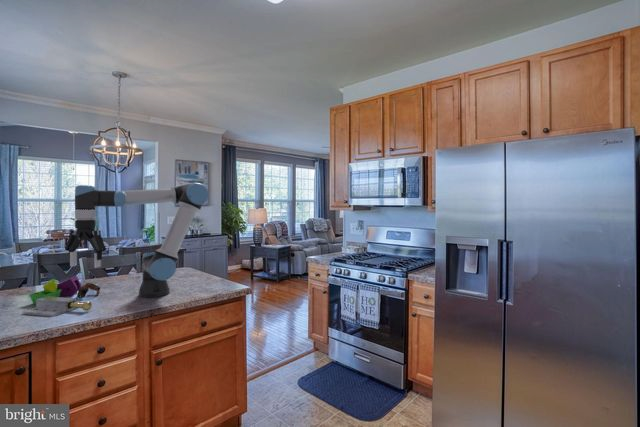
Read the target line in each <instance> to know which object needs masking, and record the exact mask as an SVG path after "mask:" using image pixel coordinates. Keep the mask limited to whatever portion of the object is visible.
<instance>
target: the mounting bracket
mask: <svg viewBox="0 0 640 427" xmlns="http://www.w3.org/2000/svg"><path fill="white" fill-rule="evenodd" d="M81 286H82V282H81V281H80V279H79V277H78V276H77V275H74V276H71V277H70V278H68V279H65V280H63V281H60V282H58V283H57V289H61V292H60V295H59V296H61V297H63V298H71V297H73V295H75V294H76V293H78V291H79V289H80V288H81Z"/></svg>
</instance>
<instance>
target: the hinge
mask: <svg viewBox="0 0 640 427" xmlns="http://www.w3.org/2000/svg"><path fill="white" fill-rule="evenodd" d="M69 302H72V303H85V302H86V301H77V297H76V298H74V297H62V296H61V297H60V296H59V297H44V298H40V299H37V300H36V304H35V305H36V307H33V308H29V309H26V310H24V311H23V310H22V312H21V314H22V315H29V316H39V317H40V316H41V317H51V318H52V317H55V316H58V315H61V314H65V313H67V312H71V311H73V310H76V309H78V308H71V307H68V303H69Z"/></svg>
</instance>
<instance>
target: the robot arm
mask: <svg viewBox="0 0 640 427" xmlns="http://www.w3.org/2000/svg"><path fill="white" fill-rule="evenodd" d="M209 194H210V193H209V190H208V188H207V187H206V186H205V184H202V183H199V182H192V183H187V184H182V185H178V186H170V188H157V189H156V188H153V189H152V188H151V189H138V190H137V189H135V190H132V189H131V190H98V189H96V186H94V185H85V184H82V185H81V184H80V185H77V186H75V189H74V219H75V221H74V227H75V229H71V230H70V231H69V236H68V240H67V242H66V245H65V248H64V250H65V251H66V252H67V251H68V252H69V253H68V257H69V267H76V266H78V251H77V248H79V246H80V244H81V243H82V242H83V241H87V242H89V243H90V245H91V247H92V248H93V250H94V251H95V252H94V253H93V254H94V258H93V259H94V262H93V263H94V264H93V265H94V267H93V268H95V269H97V268H101V267H102V259H103V253H104V252H106V251H107V248H106V245H105V243H104V242H105V241H103V240H104V239H103V238H102V233H101V230H95V228H96V220H95V219H96V207H104V208H105V207H106V208H107V207H111V208H112V207H114V208H118V207H119V208H121V207H124V206H134V205H147V204H148V205H149V204H151V205H152V204H162V203H163V204H164V203H165V204H166V203H172V204H175V205H177V204H178V205H179V208H178V210H177V212H176V214H175V216H174V218H173V220H172V223H171V224H170V227H169V229H168V231H167V233H166V235H165V237H164V240H163V242H162V244H161V246H160V248H158V249H155V252H144V253H143V254H142V257H141V263H142V264H141V265H142V273H141V274H142V277H141V278H142V279H141V280H142V281H141V284H140V287H139V290H138V296H139V297H140V298H156V297H157V298H158V297H162V296H166V295H168V294H170V291H171V290H170V286H169V283H168V280H169V279H171V278H172V277H173V276H174V275H175V273H176V271H177V262H178V260H179V255H178V254H179V253H178V252H179V250H180V249H181V246H182V243H183V241H184V240H185V238H186V234H187V233H188V230H189V228H190V226H191V224H192V221H193V219H194V218H195V215H196V213H198V212H200V211H201V208H202V206H203V205H204V204H205V203H206V202H207V201H208V199H209V197H210V196H209Z"/></svg>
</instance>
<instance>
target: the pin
mask: <svg viewBox="0 0 640 427" xmlns="http://www.w3.org/2000/svg"><path fill="white" fill-rule="evenodd" d="M84 302H85V303H72V302H69V303H68V307H71V308H77V309H82V310H83V311H90V310H91V308H92V306H93V303H92V302H91V301H84Z"/></svg>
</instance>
